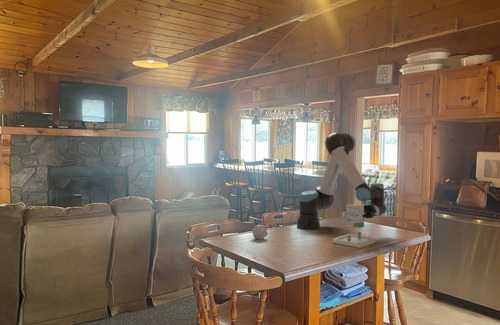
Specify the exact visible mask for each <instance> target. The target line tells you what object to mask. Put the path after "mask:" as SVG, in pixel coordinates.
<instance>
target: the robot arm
mask: <svg viewBox="0 0 500 325" xmlns="http://www.w3.org/2000/svg"><path fill="white" fill-rule="evenodd" d="M324 144H325V148H326V150H327V153H328V154H329V156H330V158H329V161H328V163H327V165H326V169H325V172H324V175H323V178H322V180H321V183H320V186H317V187H316V190H306V191H303V192H301V193H300V194H299V216H298V218H297V222H296V228H298V229H302V230H318V229H320V228H321V222H320V219H319V217H318V215H319V214H318V213H319V212H318V211H321V210H327V209H330V208H331V207H332V206H333V205H334V203H335V198H334V197H335V196H334V194H335V193H334V191H333V190H334V187H335V185H336V182H337V180H338V177H339V175H340V172H341V171H342V172H343V174H344V176H346V178H347V180H348V181H349V182H350V185H351V186H352V187H353V189H354V190H355V193H354V194H355V198H356V199H357V200H358V201H360V202H368V201H370V204H366V205H363V206H364V213H360V214H358V219H363V218H364V219H374V218H375V217H380V216H382V215H384V214H386V213H387V205H386V204H385V188H384V186H385V185H384V183H380V182H372V183H371V184H370V186H369V185H368V184H367V182H366V181H365V179H364V178H363V176H362V175H361V172H360V171H359V170H358V169H357V167H356V166H355V164H354V163H353V162H352V161H353V160H352V159H351V158H350V157H349V154H350V152H352V151H353V150H354V149H355V148H356V139H355V137H354V135H351V134H350V133H347V132H332V133H330V134H328V135H327V137H326V138H325V141H324ZM341 217H342V218H346V209H345V210H343V211H342V213H341Z"/></svg>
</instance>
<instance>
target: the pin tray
mask: <svg viewBox="0 0 500 325" xmlns="http://www.w3.org/2000/svg"><path fill="white" fill-rule="evenodd" d="M361 232H362V231H358V232H357V234H354V233H353V234H351V233H347V234H344V235H341V236H336V237H334V238H332V243H333V244H338V245H342V246H343V245H344V246H348V247H354V248H364V247H366V246H369V245H372V244H374V243H376V241H377V239H376V237H371V236H366V235H362V233H361Z"/></svg>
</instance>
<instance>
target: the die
mask: <svg viewBox="0 0 500 325" xmlns="http://www.w3.org/2000/svg"><path fill="white" fill-rule="evenodd" d="M251 232H252V235H253V238H254V240H259V241H263V240H264V239H265V238H266V237H267V236H268V235H269V233H268V230H267V228H266V225H262V224H257V225H255V227H253V228H252V229H251Z"/></svg>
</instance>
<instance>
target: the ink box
mask: <svg viewBox="0 0 500 325" xmlns="http://www.w3.org/2000/svg"><path fill="white" fill-rule="evenodd" d="M364 206H365V205H362V204H346V205H345V210H346V217H345V219H346V220H345V221H346V222H345V223H346V224H345V225H346V227H351V228H357V229H360V228H365V218H363V219H358V214H360V213H364Z"/></svg>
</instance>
